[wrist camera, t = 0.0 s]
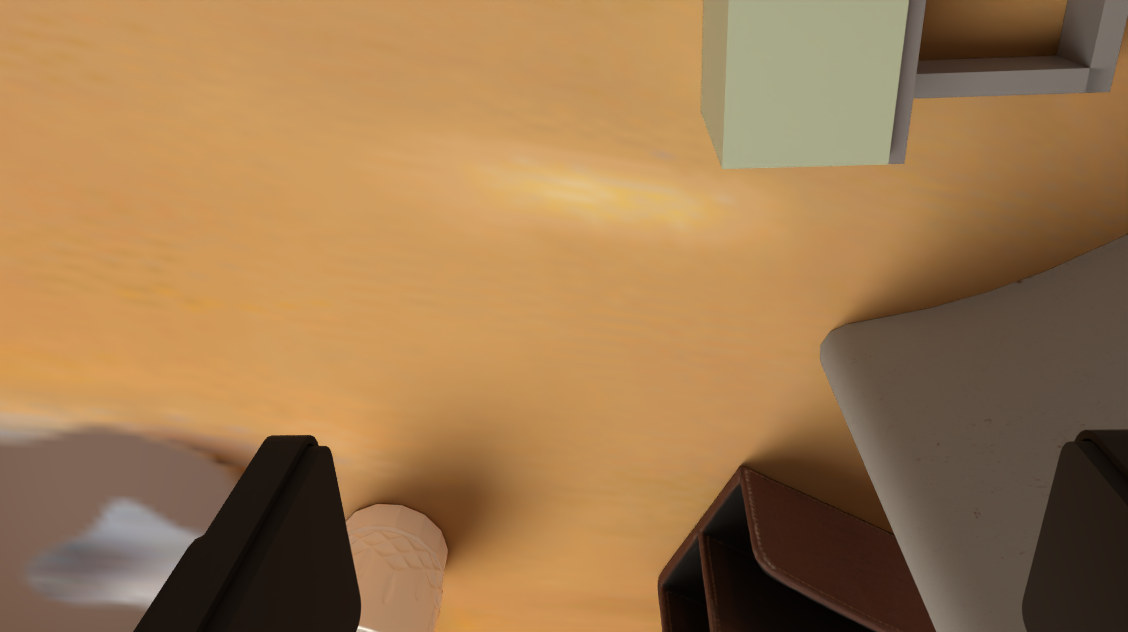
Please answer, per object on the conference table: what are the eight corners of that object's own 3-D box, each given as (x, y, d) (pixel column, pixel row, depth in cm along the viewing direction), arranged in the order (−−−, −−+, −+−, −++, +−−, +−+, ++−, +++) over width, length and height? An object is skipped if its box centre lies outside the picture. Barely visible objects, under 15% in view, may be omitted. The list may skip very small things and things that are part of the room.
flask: (835, 405, 46) (1038, 885, 24) (812, 335, 45) (1008, 784, 22) (1181, 301, 43) (1801, 756, 20) (1171, 219, 41) (1840, 620, 18)
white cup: (338, 481, 51) (278, 608, 42) (468, 510, 51) (437, 642, 42) (323, 578, 54) (265, 715, 45) (445, 605, 55) (412, 745, 46)
